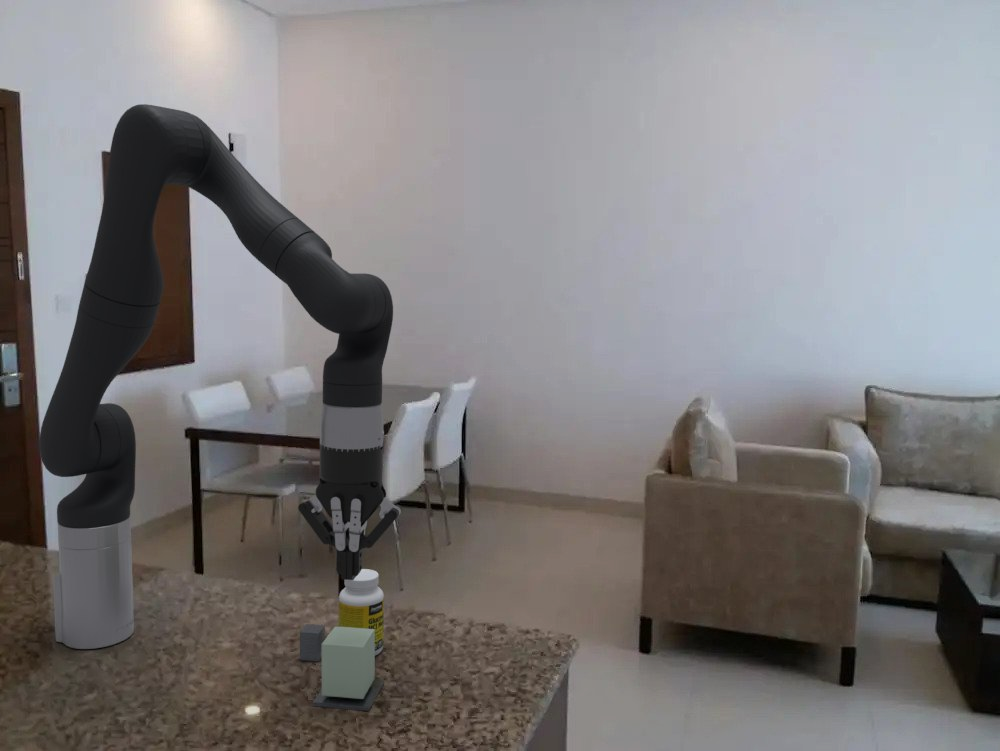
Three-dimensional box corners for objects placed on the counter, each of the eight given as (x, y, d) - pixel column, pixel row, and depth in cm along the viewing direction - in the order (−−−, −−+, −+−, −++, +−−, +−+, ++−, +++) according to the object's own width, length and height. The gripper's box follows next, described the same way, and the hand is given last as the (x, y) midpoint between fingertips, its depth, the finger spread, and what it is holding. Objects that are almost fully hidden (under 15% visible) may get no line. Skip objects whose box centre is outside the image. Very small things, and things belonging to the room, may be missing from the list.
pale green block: (321, 695, 102) (321, 644, 101) (335, 675, 107) (335, 626, 106) (363, 699, 101) (363, 647, 100) (374, 678, 106) (374, 629, 105)
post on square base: (312, 705, 101) (312, 651, 100) (331, 678, 108) (331, 627, 107) (368, 710, 100) (368, 655, 99) (383, 682, 107) (384, 631, 106)
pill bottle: (374, 663, 113) (374, 584, 111) (331, 657, 114) (331, 580, 113) (389, 643, 119) (390, 568, 117) (348, 638, 120) (348, 564, 119)
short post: (299, 660, 113) (299, 632, 112) (306, 651, 115) (306, 624, 115) (318, 661, 113) (318, 633, 112) (324, 653, 115) (324, 625, 115)
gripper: (287, 442, 97) (286, 584, 100) (397, 450, 96) (394, 594, 98) (309, 430, 105) (308, 562, 107) (412, 437, 103) (408, 571, 105)
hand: (349, 577), depth 103 cm, fingers closed
